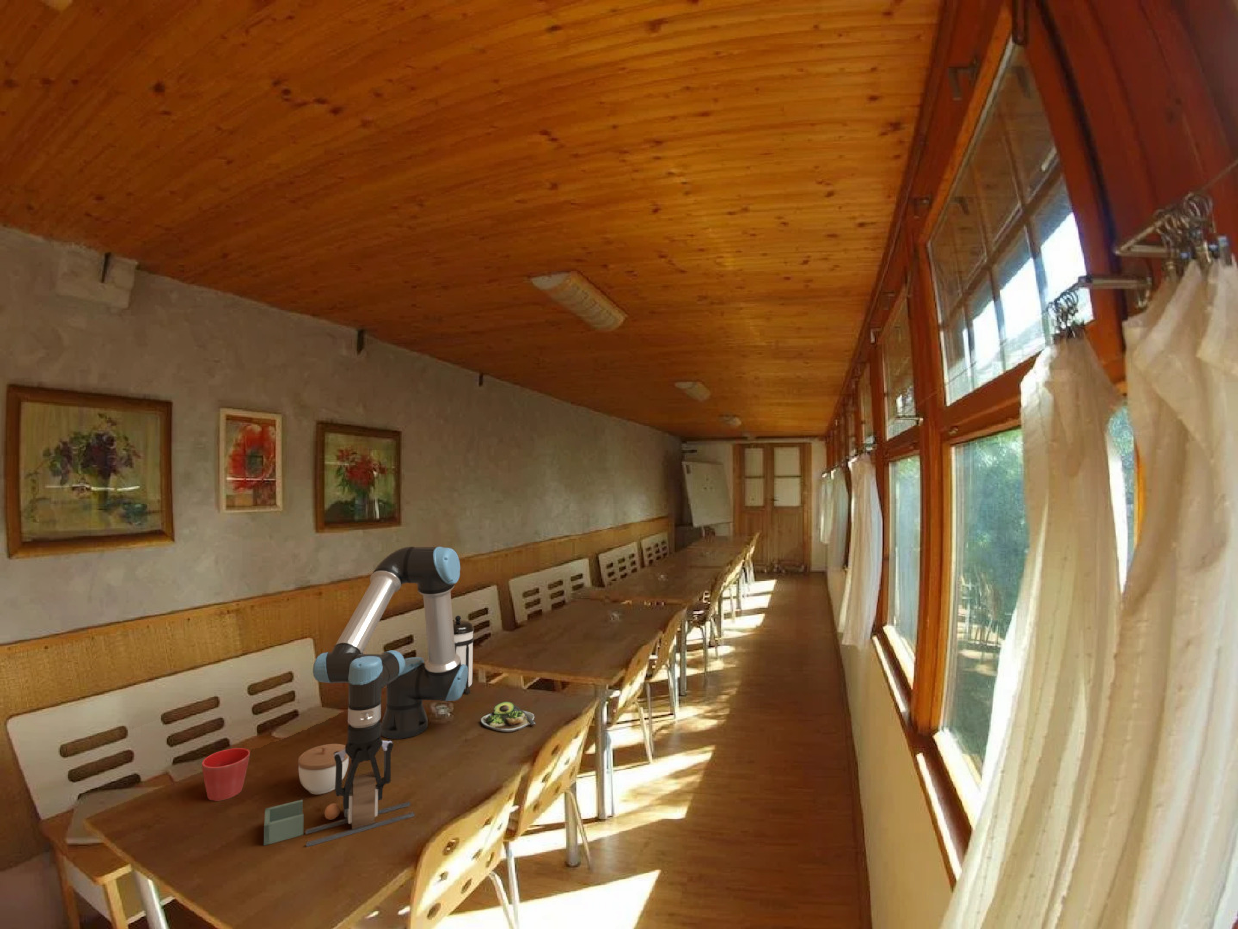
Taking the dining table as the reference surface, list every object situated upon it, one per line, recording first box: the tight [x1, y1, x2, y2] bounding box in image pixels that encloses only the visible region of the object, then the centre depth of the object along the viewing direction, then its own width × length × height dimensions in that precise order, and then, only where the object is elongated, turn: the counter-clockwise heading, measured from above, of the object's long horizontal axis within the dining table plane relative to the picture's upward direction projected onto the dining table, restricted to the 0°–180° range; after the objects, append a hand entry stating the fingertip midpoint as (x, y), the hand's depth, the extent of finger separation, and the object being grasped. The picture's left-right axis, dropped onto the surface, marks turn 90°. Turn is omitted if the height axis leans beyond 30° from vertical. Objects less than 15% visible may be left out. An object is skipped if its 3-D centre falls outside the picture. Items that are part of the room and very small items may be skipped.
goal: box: [263, 799, 305, 847], centre depth 137 cm, size 8×8×4 cm
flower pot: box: [201, 747, 251, 802], centre depth 153 cm, size 11×11×10 cm
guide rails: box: [305, 800, 415, 848], centre depth 140 cm, size 6×24×1 cm, turn 121°
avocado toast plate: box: [480, 701, 536, 733], centre depth 199 cm, size 19×18×5 cm
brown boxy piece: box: [342, 771, 376, 829], centre depth 142 cm, size 10×6×11 cm, turn 31°
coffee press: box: [453, 615, 475, 695], centre depth 228 cm, size 17×16×30 cm
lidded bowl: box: [297, 743, 350, 795], centre depth 156 cm, size 13×13×11 cm
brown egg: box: [324, 802, 341, 821], centre depth 142 cm, size 4×4×4 cm
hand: (362, 817), depth 140 cm, fingers closed on brown boxy piece, 5 cm apart
